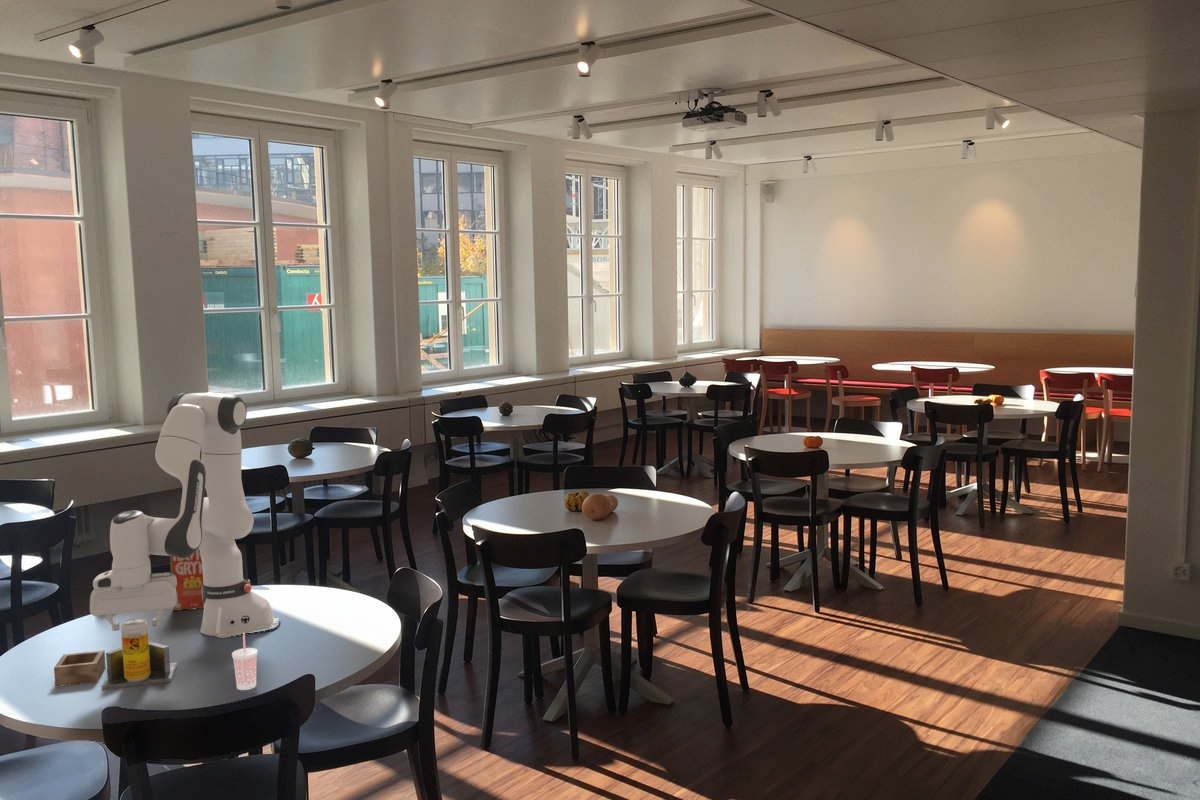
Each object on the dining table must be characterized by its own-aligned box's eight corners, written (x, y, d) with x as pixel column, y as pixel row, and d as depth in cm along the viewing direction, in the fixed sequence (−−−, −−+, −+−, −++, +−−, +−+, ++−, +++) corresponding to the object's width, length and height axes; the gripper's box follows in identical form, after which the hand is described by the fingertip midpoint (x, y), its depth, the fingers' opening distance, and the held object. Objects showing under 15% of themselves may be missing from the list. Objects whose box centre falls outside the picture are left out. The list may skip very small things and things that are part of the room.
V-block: (176, 665, 262) (175, 637, 261) (170, 681, 251) (168, 651, 250) (111, 673, 257) (109, 643, 256) (102, 689, 246) (99, 659, 245)
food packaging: (171, 611, 308) (166, 533, 306) (178, 602, 317) (173, 526, 315) (216, 608, 311) (211, 531, 308) (221, 599, 320) (217, 524, 317)
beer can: (125, 684, 247) (121, 626, 245) (123, 676, 252) (120, 620, 250) (151, 679, 250) (148, 622, 248) (149, 671, 255) (146, 616, 253)
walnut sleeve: (105, 668, 261) (104, 650, 260) (97, 682, 251) (96, 663, 251) (64, 672, 258) (63, 654, 257) (55, 686, 249) (54, 667, 248)
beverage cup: (262, 681, 250) (259, 628, 249) (255, 690, 244) (252, 636, 243) (238, 682, 250) (235, 629, 248) (230, 691, 244) (227, 637, 242)
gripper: (177, 568, 255) (181, 619, 257) (91, 576, 249) (95, 628, 251) (174, 574, 249) (178, 627, 251) (85, 582, 243) (90, 636, 245)
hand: (136, 627), depth 251 cm, fingers open, 8 cm apart
